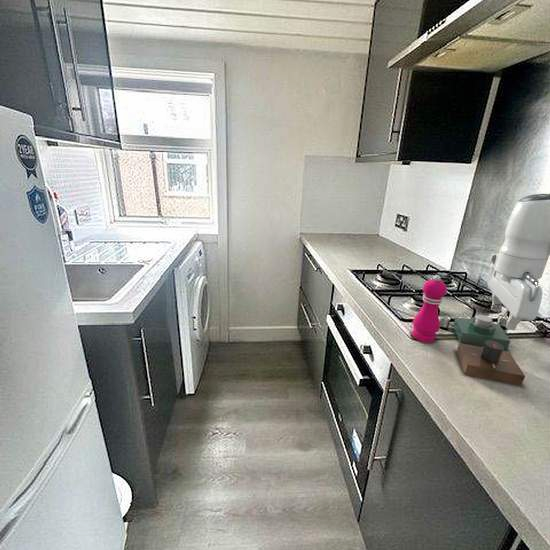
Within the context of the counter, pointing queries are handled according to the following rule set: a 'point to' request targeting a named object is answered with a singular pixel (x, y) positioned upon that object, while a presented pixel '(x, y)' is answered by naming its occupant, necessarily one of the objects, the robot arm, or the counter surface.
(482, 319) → the pump
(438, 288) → the pepper mill
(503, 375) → the lock base
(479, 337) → the dispenser
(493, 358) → the lock dial
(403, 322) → the counter surface
